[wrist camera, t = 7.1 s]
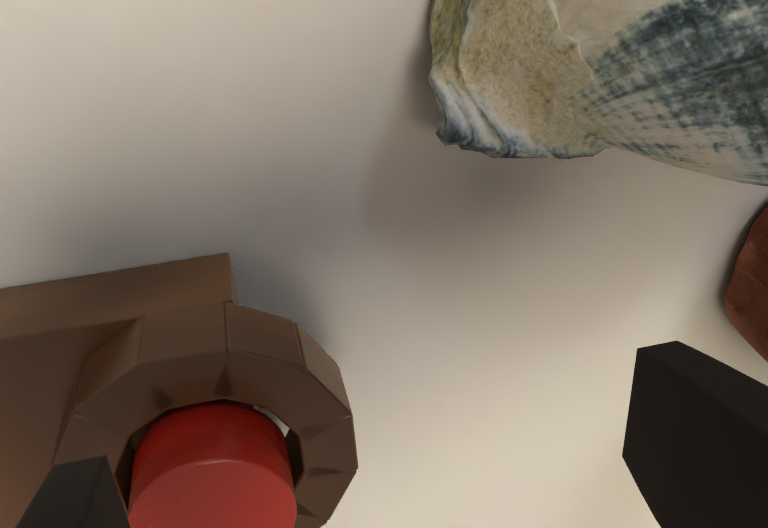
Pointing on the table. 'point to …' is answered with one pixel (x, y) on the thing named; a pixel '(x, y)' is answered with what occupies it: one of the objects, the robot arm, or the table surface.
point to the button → (212, 471)
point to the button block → (159, 377)
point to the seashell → (606, 80)
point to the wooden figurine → (751, 288)
